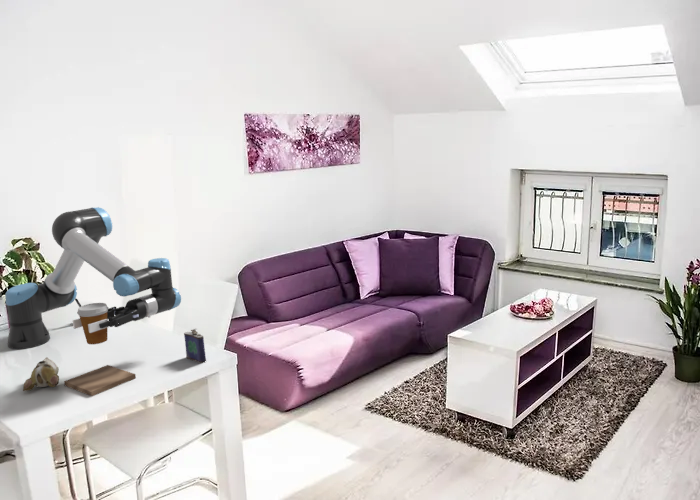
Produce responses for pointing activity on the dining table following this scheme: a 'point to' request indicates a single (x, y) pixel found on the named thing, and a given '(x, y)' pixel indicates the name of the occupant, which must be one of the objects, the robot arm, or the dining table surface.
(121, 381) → the walnut board
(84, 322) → the disposable coffee cup
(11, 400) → the dining table surface
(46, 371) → the ceramic sculpture
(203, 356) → the flask
